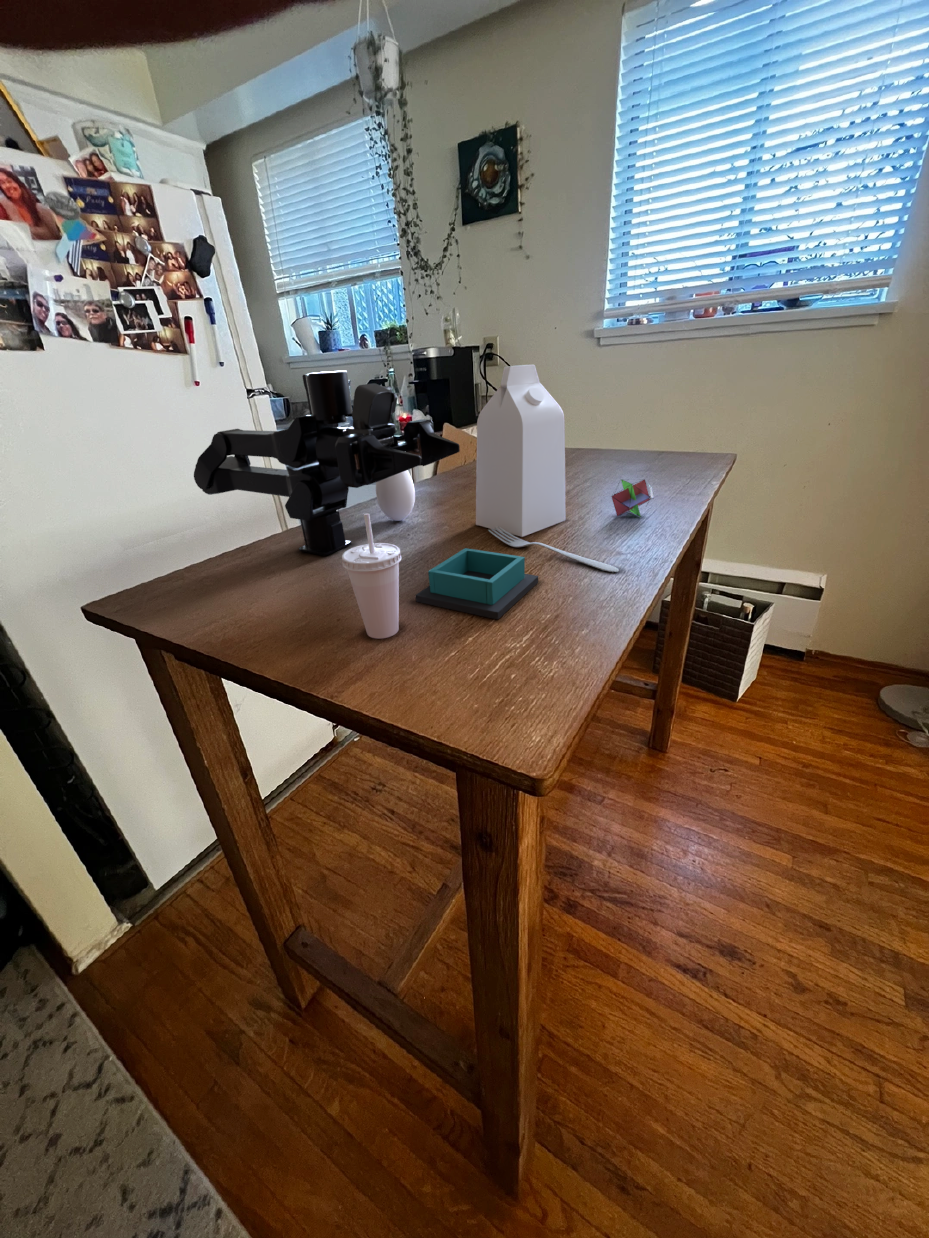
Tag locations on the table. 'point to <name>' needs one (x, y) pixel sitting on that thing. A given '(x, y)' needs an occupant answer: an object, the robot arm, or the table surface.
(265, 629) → the table surface
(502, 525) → the milk
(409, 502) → the egg
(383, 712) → the table surface
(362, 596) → the smoothie
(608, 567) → the fork
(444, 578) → the dock pad
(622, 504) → the geometric puzzle
